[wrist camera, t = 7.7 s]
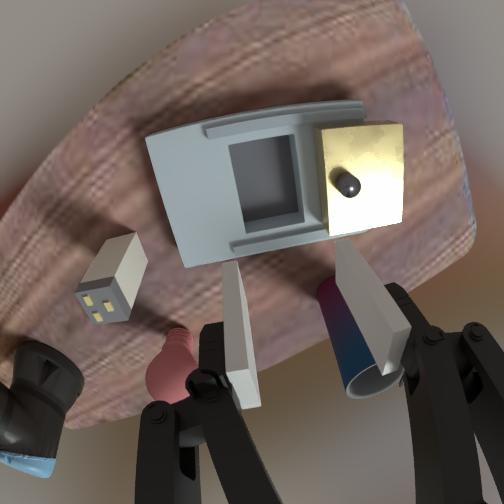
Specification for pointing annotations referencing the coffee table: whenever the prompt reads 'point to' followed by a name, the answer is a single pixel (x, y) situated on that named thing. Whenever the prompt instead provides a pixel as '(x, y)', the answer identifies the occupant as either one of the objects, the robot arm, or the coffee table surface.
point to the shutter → (359, 174)
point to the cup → (351, 346)
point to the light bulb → (172, 367)
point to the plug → (113, 280)
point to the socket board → (245, 179)
